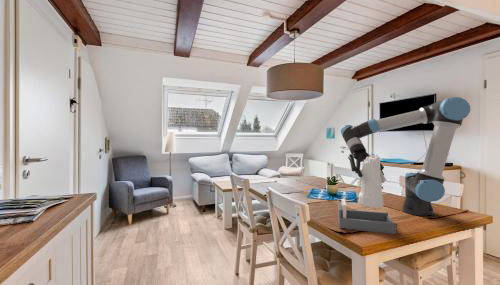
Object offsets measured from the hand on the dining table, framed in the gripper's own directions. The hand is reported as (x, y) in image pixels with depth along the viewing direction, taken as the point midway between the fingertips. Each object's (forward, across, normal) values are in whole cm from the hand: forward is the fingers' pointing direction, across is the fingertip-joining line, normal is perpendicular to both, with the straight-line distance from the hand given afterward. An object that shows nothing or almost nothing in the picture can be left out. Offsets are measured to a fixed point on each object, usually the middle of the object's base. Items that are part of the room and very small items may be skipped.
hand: (374, 181), depth 113 cm
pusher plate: (+9, +12, -21) cm, 26 cm away
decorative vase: (+6, 0, -11) cm, 12 cm away
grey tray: (+13, +3, -19) cm, 23 cm away
